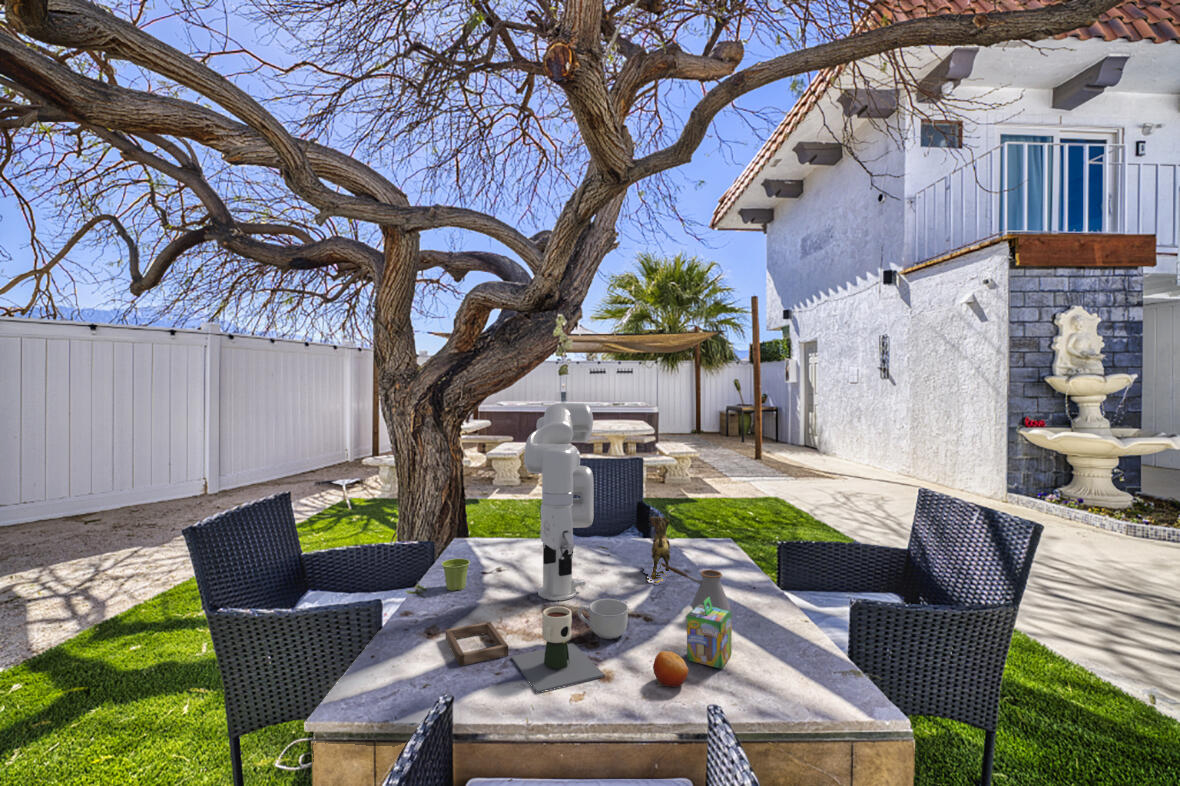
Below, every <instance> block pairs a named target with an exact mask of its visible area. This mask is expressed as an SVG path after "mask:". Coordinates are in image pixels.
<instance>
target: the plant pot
mask: <svg viewBox="0 0 1180 786" xmlns="http://www.w3.org/2000/svg"><path fill="white" fill-rule="evenodd" d="M470 563H471V561H470V560H469V559H467V558H452V559H451V558H450V559H447V560H446V559H445V560H444V561H442V562H441V567H442V568H443V570H444V571H443V572H444V579H445V586H446V589H447V590H448V591H451V592H452V591H453V592H454V591H457V590H458V591H461V590H463V589H465V588H466V584H467V583H466V582H467V576H468V575H467V573H468V568H469V566H470Z"/></svg>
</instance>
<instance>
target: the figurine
mask: <svg viewBox="0 0 1180 786" xmlns="http://www.w3.org/2000/svg"><path fill="white" fill-rule="evenodd" d="M649 522H651V527H652V528H654V529H655V534H654V537H653V539H652V546H651V558H652V560H653V561H651V563H653V562H654V567H653V572H652V575H651V577H652V579H654V580H655V579H658V578H661V577H656V576H661V575H658V574H659V573H662V574H664V575H665V573H664V572H663V571H660V572H658V573H657V572H656V569H657V564H658V562H660V559H663V561H664V564H665V565H669V566H670V563H669V561H670V559H671V550H670V549H671V543H670V540H669V539H668V537H667V530H668V527H670V526H669V525H670V520H669V519H667V517H666V516H664V517H662V516H655V517H654V516H650V517H649ZM665 570H666V571H669V569H667V568H665ZM656 573H657V575H656ZM665 576H667V575H665ZM647 580H649V578H647ZM650 581H652V580H650ZM660 581H663V579H662V578H661V580H658V581H655V582H654V583H659V582H660Z"/></svg>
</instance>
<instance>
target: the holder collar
mask: <svg viewBox="0 0 1180 786" xmlns="http://www.w3.org/2000/svg"><path fill="white" fill-rule="evenodd" d="M482 633H485V634H487V635H488V634H489V635H488V636H489V638H490V637H491V638H490V639H491V641H492V640H493V641H494V642H493V641H492V642H493V643H495V644H496V645H495V646H491V647H486V648H481V649H476V650H470V651H465V652H464V651H463V650H462V648H461V645H460V644H459V642H458V641H457V639H455V638H459V639H462V638H461V637H464V638H468V637H467V636H469V637H473V636H472V635H474V636H477V635H476V634H480V635H483V634H482ZM446 640H447V641H446ZM445 641H446V643H447V642H448V643H447V644H449V645H448V646H450V647H449V649H450V648H451V649H450V650H452V651H451V653H452V652H453V653H452V654H453V656H454V659H455V660H456V662H457V664H458V666H459V667H461V666H467V665H471V664H474V663H475V662H476V663H481V662H485V660H486V661H490V660H489V659H491V660H495V659H499V658H498V657H500V658H504V657H503V656H505V657H508V656H509V645H508V644H507V642H506V641H505V640H504V638H503V637H502V636H501V634H500V633H499V631H498V630H497V629H496V627H495V626H494V625H493V623H492V622H491V621H487V622H480V623H476V624H469V625H464V626H460V627H453V628H449V629H445ZM494 658H495V659H494ZM476 663H475V664H476Z"/></svg>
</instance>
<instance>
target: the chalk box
mask: <svg viewBox="0 0 1180 786" xmlns="http://www.w3.org/2000/svg"><path fill="white" fill-rule="evenodd" d="M707 603H709V606H706V604H707ZM732 618H733V614H732V611H731V610H730V611H727V610H723V609H720V608H716V607H712V605H711V601H710V597H709V596H708V597H707V598H706V599H705V600H704V601H703V605H698V606H697V607H695V608H694V609H692V610H691V611H690V612H688V614H687V615H686V651H687V652H686V660H687V661H689V662H693V663H697V664H699V665H700V664H701V665H705V666H707V667H708V666H709V667H712V668H717V669H719V670H722V668H723V667H724V665H726V663H727V662H728V661H729V659H730V658H731V657H730V656H732V655H731V654H733V653H732V651H733V649H732V647H733V646H732V643H733V642H732V640H733V638H732V637H733V633H732V631H733V629H732V626H733V623H732Z"/></svg>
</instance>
